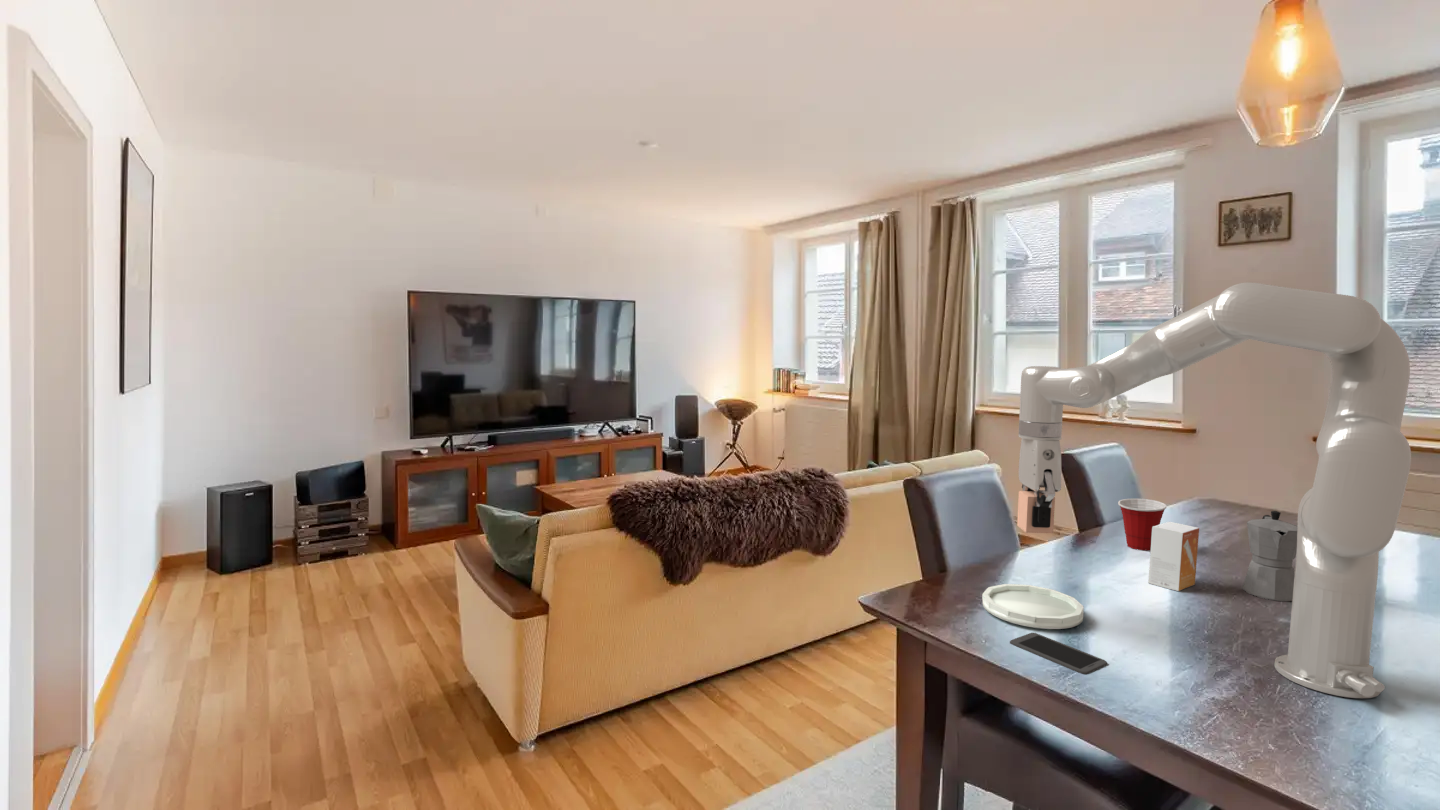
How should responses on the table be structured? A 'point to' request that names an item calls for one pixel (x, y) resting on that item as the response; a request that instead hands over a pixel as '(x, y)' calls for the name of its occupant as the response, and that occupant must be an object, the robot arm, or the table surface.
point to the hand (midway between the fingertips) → (1035, 522)
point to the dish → (1033, 606)
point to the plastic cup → (1140, 521)
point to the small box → (1173, 555)
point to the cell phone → (1059, 653)
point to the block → (1025, 513)
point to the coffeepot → (1271, 558)
